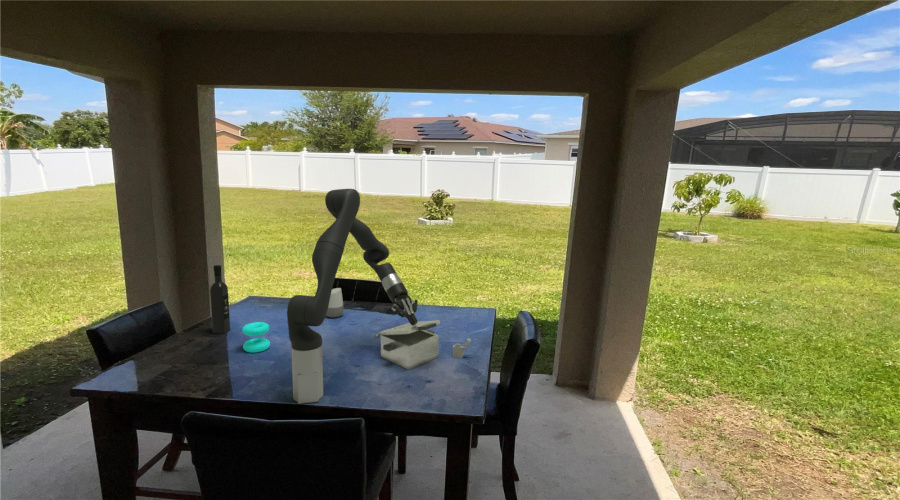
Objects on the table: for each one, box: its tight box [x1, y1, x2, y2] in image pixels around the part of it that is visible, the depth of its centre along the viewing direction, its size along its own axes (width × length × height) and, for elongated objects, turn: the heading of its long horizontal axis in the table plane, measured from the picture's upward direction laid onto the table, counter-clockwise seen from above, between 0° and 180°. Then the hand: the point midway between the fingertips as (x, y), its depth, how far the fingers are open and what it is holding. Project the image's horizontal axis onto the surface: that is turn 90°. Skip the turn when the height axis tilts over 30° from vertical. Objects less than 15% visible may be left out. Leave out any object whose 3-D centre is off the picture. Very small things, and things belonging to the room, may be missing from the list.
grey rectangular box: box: [373, 329, 440, 370], centre depth 172 cm, size 17×24×10 cm
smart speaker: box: [326, 287, 344, 319], centre depth 218 cm, size 10×9×14 cm
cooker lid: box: [378, 319, 441, 336], centre depth 169 cm, size 20×17×1 cm
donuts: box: [241, 321, 271, 354], centre depth 176 cm, size 10×10×10 cm
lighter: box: [452, 337, 472, 359], centre depth 173 cm, size 7×2×8 cm, turn 76°
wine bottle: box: [209, 264, 231, 335], centre depth 191 cm, size 6×6×30 cm
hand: (415, 324), depth 168 cm, fingers closed
